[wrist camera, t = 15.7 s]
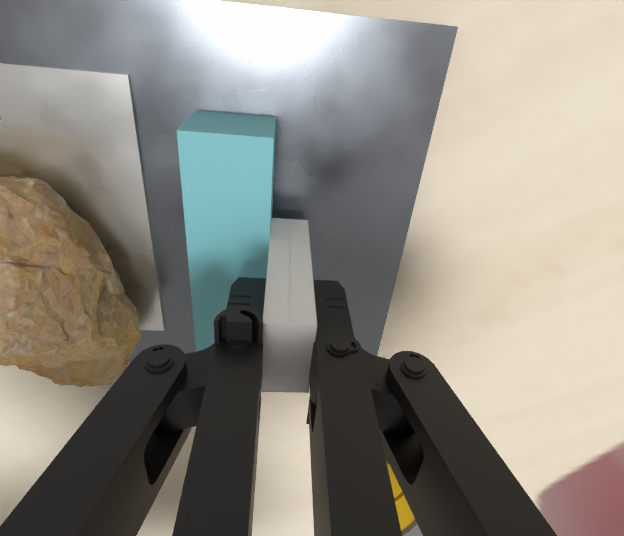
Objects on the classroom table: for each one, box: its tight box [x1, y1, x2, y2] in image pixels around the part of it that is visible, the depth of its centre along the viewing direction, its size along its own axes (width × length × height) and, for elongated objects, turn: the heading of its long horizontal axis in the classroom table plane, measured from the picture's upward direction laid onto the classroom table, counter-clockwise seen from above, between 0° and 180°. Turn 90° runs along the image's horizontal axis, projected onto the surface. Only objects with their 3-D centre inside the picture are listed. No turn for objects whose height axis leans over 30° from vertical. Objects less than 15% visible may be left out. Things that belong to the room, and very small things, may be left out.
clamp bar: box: [177, 110, 276, 352], centre depth 16 cm, size 3×10×3 cm, turn 175°
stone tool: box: [0, 176, 141, 387], centre depth 16 cm, size 9×7×10 cm
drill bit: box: [387, 463, 423, 536], centre depth 29 cm, size 5×5×10 cm
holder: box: [0, 0, 458, 361], centre depth 18 cm, size 24×17×1 cm
